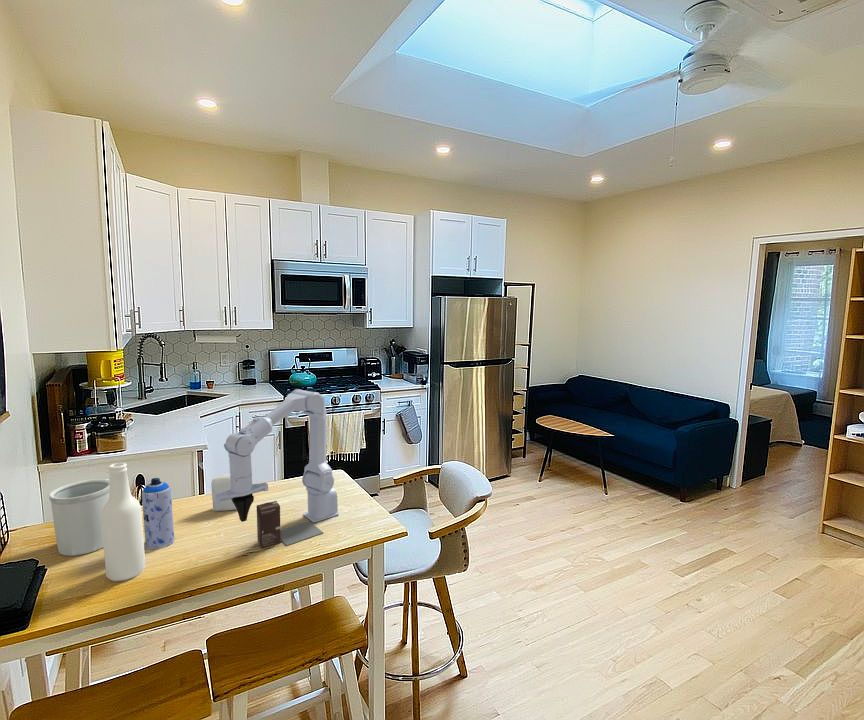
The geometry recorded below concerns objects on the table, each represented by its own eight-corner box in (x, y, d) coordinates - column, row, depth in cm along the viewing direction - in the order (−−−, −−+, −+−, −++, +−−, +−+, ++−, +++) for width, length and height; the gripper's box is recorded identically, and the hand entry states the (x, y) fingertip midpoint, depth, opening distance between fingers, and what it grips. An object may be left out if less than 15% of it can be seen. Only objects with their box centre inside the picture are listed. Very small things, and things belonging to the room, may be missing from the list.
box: (261, 549, 137) (259, 510, 135) (257, 542, 140) (255, 504, 139) (281, 543, 140) (280, 505, 138) (277, 537, 144) (276, 499, 142)
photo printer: (211, 512, 160) (209, 477, 159) (214, 506, 164) (213, 473, 163) (242, 510, 162) (240, 476, 160) (245, 505, 166) (243, 471, 164)
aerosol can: (141, 542, 140) (136, 478, 137) (170, 533, 146) (165, 472, 143) (149, 552, 135) (144, 486, 132) (178, 542, 140) (174, 478, 138)
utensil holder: (43, 551, 135) (36, 493, 133) (96, 528, 149) (91, 475, 146) (76, 562, 130) (70, 502, 127) (128, 537, 143) (123, 482, 141)
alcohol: (106, 570, 126) (96, 463, 122) (144, 560, 131) (136, 457, 127) (106, 586, 118) (96, 473, 115) (147, 575, 123) (138, 466, 120)
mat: (309, 521, 154) (309, 520, 154) (323, 533, 146) (323, 532, 146) (273, 533, 146) (273, 532, 146) (286, 546, 138) (286, 545, 138)
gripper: (261, 465, 140) (263, 508, 142) (209, 476, 131) (212, 522, 133) (270, 472, 135) (272, 516, 137) (217, 484, 126) (219, 531, 127)
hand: (243, 520), depth 134 cm, fingers closed
